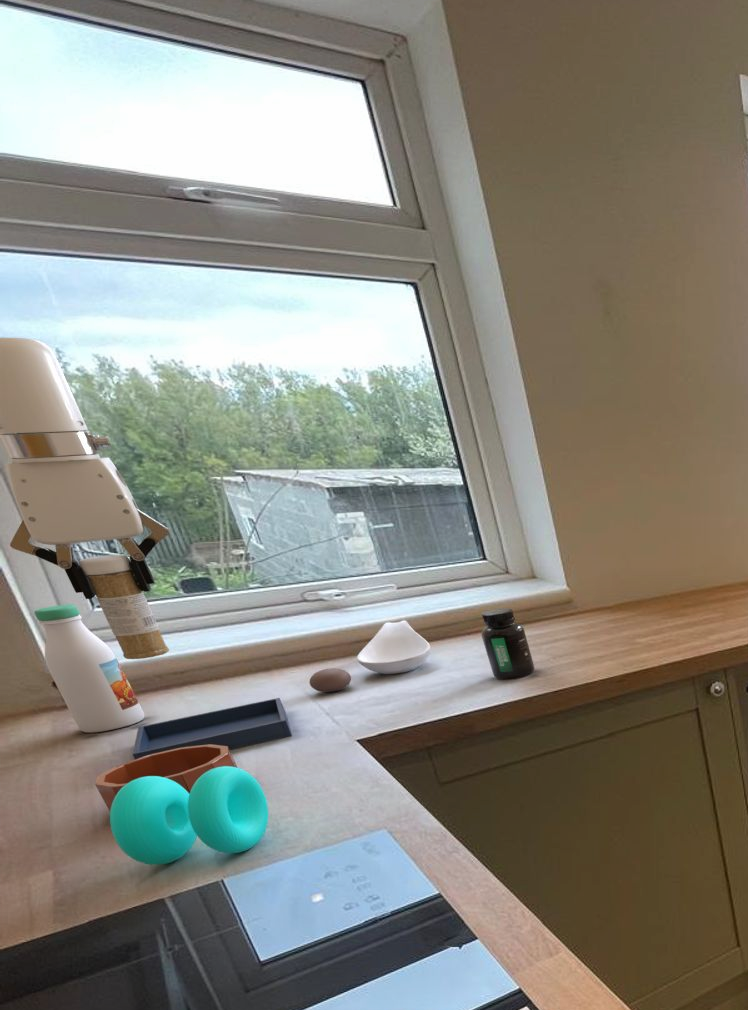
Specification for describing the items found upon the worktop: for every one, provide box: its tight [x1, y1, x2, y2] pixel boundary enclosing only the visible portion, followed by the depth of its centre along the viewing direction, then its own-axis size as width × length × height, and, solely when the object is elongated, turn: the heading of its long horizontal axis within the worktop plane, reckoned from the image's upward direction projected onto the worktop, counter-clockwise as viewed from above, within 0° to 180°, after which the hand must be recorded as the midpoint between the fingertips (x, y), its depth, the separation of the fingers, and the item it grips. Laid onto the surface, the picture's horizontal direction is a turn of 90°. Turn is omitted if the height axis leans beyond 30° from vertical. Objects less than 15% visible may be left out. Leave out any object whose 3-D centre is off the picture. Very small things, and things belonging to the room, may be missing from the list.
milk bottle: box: [34, 604, 145, 733], centre depth 131 cm, size 8×8×20 cm
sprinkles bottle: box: [78, 554, 170, 660], centre depth 108 cm, size 5×5×13 cm
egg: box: [308, 667, 352, 693], centre depth 146 cm, size 6×6×4 cm
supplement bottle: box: [481, 608, 535, 680], centre depth 150 cm, size 7×7×12 cm
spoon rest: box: [356, 619, 431, 675], centre depth 161 cm, size 24×12×7 cm, turn 31°
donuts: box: [109, 766, 269, 866], centre depth 92 cm, size 10×10×10 cm
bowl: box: [95, 744, 239, 812], centre depth 106 cm, size 13×13×5 cm
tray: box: [132, 697, 293, 760], centre depth 127 cm, size 17×15×3 cm
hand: (118, 592), depth 107 cm, fingers closed on sprinkles bottle, 4 cm apart
